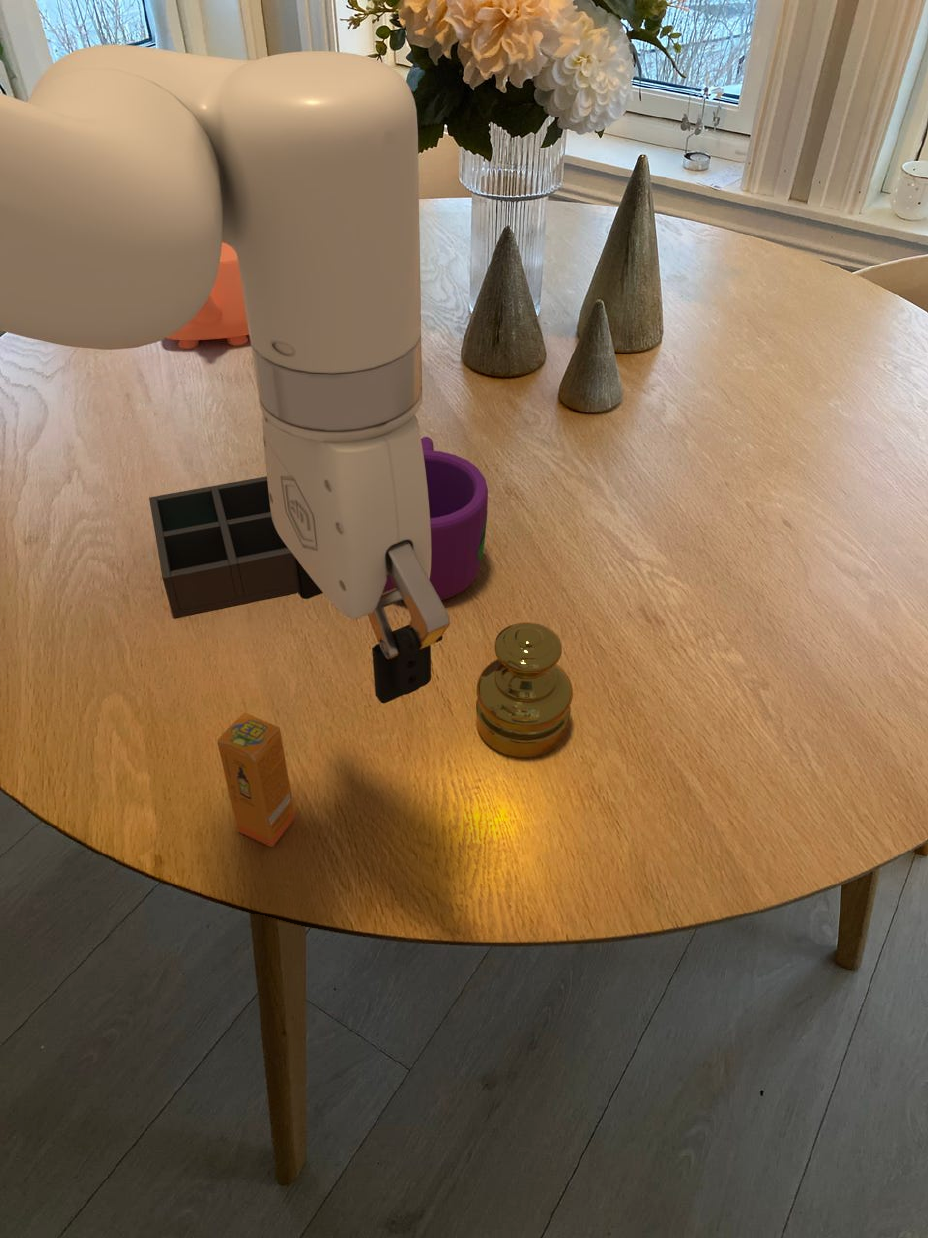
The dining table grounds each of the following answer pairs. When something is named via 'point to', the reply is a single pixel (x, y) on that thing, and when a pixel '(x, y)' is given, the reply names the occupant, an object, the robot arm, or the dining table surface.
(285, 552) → the rack
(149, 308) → the robot arm
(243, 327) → the teapot
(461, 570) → the mug
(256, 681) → the dining table surface
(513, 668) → the brass knobbed weight
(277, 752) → the supplement box
